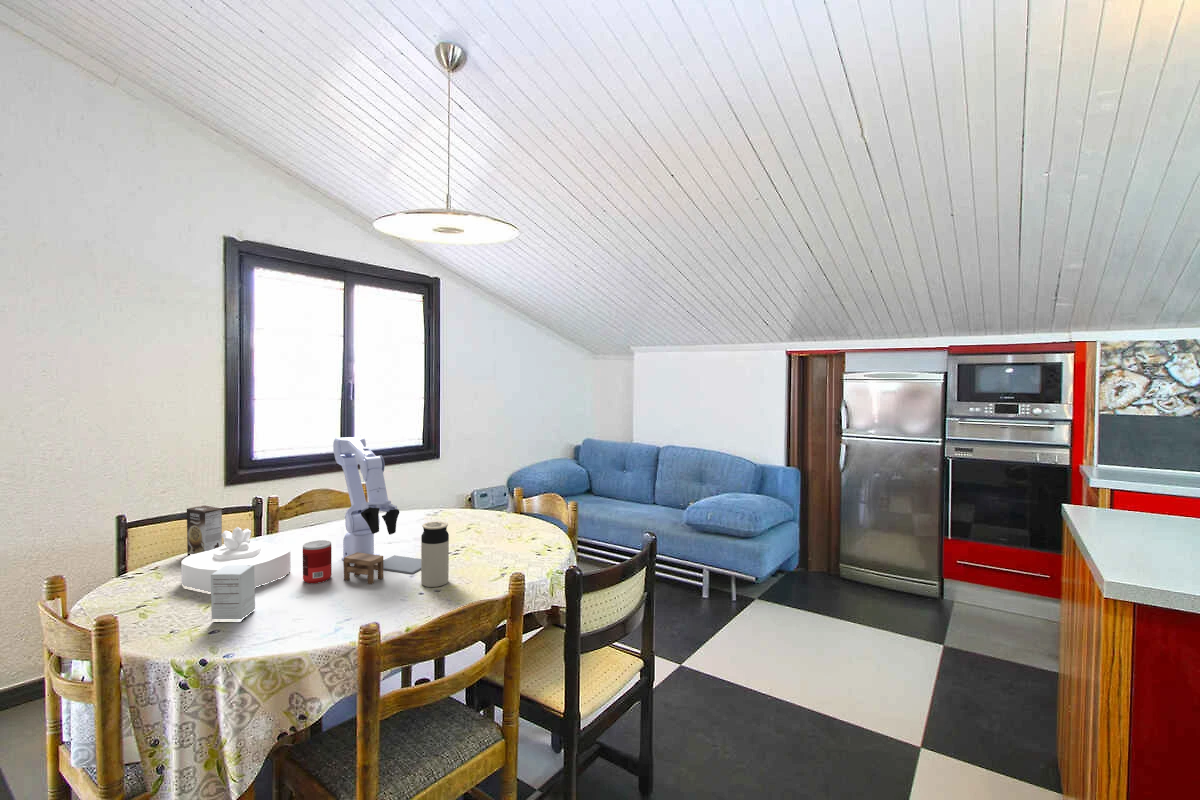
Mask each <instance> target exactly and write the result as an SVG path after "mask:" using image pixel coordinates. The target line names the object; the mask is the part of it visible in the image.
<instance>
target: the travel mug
mask: <svg viewBox="0 0 1200 800" xmlns="http://www.w3.org/2000/svg"><path fill="white" fill-rule="evenodd" d="M421 526H422V528H423V532H422V534H421V537H420V538H421V540H420V543H421V546H420V547H421V549H420V552H421V554H420V555H421V557H420V559H421V570H420V571H421V573H420V574H421V575H420V578H421V579H420V580H421V581H420V583H421V585H422V586H424V587H427V588H438V587H442V586H445V585H446V584H448V583H449V570H450V569H449V563H450V562H449V561H450V559H449V557H450V556H449V553H450V552H449V551H450V549H449V548H450V545H449V544H450V543H449V541H450V539H449V537H450V535H449V531H448V529H447V528H448V526H449V524H448V523H447V522H446V521H439V520H438V521H427V522H425V523H423V524H422V525H421Z"/></svg>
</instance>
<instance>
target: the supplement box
mask: <svg viewBox="0 0 1200 800" xmlns="http://www.w3.org/2000/svg"><path fill="white" fill-rule="evenodd" d="M255 590H256V589H255V582H254V565H226V566H224V567H222V568H221V569H219V570H218V571H216V572H214V573H213V574H211V595H210V599H211V601H210V603H211V605H210V607H211V608H210V609H211V611H210V612H211V620H212V619H242V618H243V617H245V616H246V615H248V614H249V613H250V612H252V611H253V610H254V609H255V610H256V594H255V592H256V591H255Z"/></svg>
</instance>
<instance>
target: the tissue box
mask: <svg viewBox="0 0 1200 800" xmlns="http://www.w3.org/2000/svg"><path fill="white" fill-rule="evenodd" d="M251 534H252V530H250V529H249V528H245V529H244V530H243V529H242V528H241V527H239V526H236V527H235V528H234V529H233V530H232V532H231V531H230V530H229V531H228V530H224V531H223V532H222V534H221V536H222V541H223V542H222V543H223V544H224V545H222V546H221V547H218V548H215V549H213V550H210V551H205V552H201V553H197V554H193V555H187V556H186V557H185V558H183V559H182V560H181V562H180V563H181V565H180V566H181V568H180V569H181V571H180V572H181V585H182V584H183V585H184V586H187V587H192V588H195V589H200V590H204V591H208V592H211V574H213V573H214V572H216V571H218V570H219V569H221V568H222V567H224V566H226V565H254V582H255V587H256V586H259V585H262V584H265V583H268V582H271V581H273V580H276V579H278V578H281V577H283V576H285V575H287V574H288V573H289V572H290V571H291V568H292V567H291V548H290V547H289V546H287V545H283V544H281V545H280V544H273V543H269V542H265V541H250V540H249V539H250V538H251ZM291 572H292V571H291Z"/></svg>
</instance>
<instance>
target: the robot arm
mask: <svg viewBox="0 0 1200 800" xmlns="http://www.w3.org/2000/svg"><path fill="white" fill-rule="evenodd" d="M366 441H367V440H366V439H365V437H364V436H363V435H362V436H361V435H360V436H353V437H351V436H348V437H335V438H334V440H333V442H332V443H333V445H332V447H333V455H334V459H335V463H336V464H337V465H339V466H341V468H342V471H343V475H344V479H345V483H346V487H347V491H348V492H347V493H348V497H349V500H350V507H349V508H348V509H347V510H346V512H345V514H344V519H345V522H344V523H345V524H344V525H345V530H346V531H347V532H346V533H345V534H344V537H343V540H342V544H343V545H342V547H343V549H342V551H343V554H342V557H341V560H343V561H344V557H346V556H349V555H351V554H354V553H356V552H359V553H366V554H373V555H380V554H378V553H375V546H374V545H375V534H377V533H379V532H380V516H379V512H385V514H383V515H382V516H381V518H382V519H383V521H384V523H385V525H386V529H387V533H388V535H389V536H390V535H391V536H392V535H393V534H395V533H397V532H396V531H397V521H398V517H399V514H400V509H398V506H397V505H395V504H392V501H391V500H389V497H388V492H387V487H386V481H385V474H384V471H385V459H384V457H383V455H376V454H375V453H374V451H372V450H371V449H370V448H369V447H367V443H366ZM358 466H359V467H358ZM359 469H360V471H359ZM360 473H361V475H362V479H363V481H364V482H365V488H366V494H367V500H368V501H367V500H366V495H365V492H364V488H363V483H362V480H361V475H360Z"/></svg>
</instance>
